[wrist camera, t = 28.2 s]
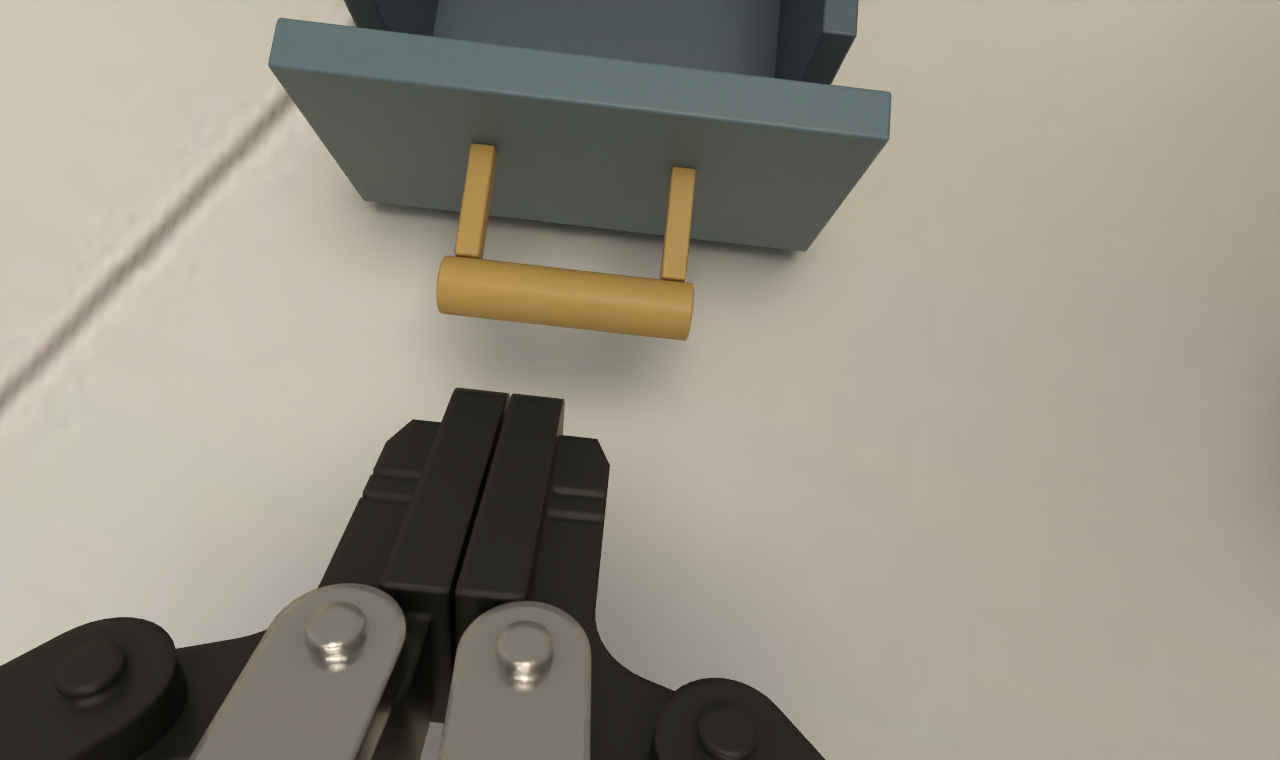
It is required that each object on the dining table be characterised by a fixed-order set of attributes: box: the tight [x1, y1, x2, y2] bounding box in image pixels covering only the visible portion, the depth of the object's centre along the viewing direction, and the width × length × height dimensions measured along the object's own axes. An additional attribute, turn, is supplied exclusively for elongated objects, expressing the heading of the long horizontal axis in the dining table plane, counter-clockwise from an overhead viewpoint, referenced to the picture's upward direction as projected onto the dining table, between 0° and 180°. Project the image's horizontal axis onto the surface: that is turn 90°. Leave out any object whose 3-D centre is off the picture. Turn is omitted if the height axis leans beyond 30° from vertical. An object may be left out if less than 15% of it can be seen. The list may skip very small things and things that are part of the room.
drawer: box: [268, 0, 891, 341], centre depth 22 cm, size 18×14×7 cm
